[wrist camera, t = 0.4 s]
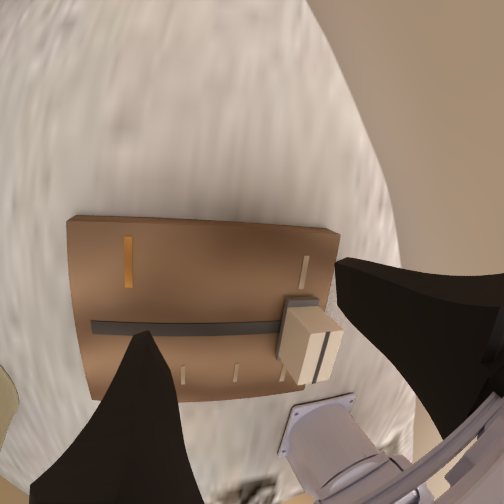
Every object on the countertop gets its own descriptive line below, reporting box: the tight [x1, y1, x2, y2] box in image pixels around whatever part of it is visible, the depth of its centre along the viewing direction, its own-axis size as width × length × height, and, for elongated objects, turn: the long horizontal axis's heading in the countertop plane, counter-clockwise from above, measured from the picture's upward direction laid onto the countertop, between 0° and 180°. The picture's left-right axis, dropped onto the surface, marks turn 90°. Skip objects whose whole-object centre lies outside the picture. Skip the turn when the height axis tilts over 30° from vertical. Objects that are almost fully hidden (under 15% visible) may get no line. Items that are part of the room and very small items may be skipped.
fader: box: [275, 297, 344, 385], centre depth 19 cm, size 5×2×4 cm, turn 173°
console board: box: [66, 215, 340, 402], centre depth 20 cm, size 14×18×2 cm
